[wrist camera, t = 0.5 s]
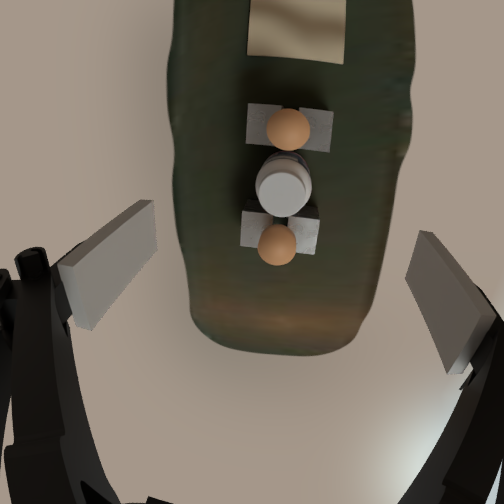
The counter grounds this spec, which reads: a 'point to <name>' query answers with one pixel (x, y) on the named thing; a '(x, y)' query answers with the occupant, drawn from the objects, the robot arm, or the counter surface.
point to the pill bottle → (283, 184)
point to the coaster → (298, 29)
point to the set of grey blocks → (319, 140)
